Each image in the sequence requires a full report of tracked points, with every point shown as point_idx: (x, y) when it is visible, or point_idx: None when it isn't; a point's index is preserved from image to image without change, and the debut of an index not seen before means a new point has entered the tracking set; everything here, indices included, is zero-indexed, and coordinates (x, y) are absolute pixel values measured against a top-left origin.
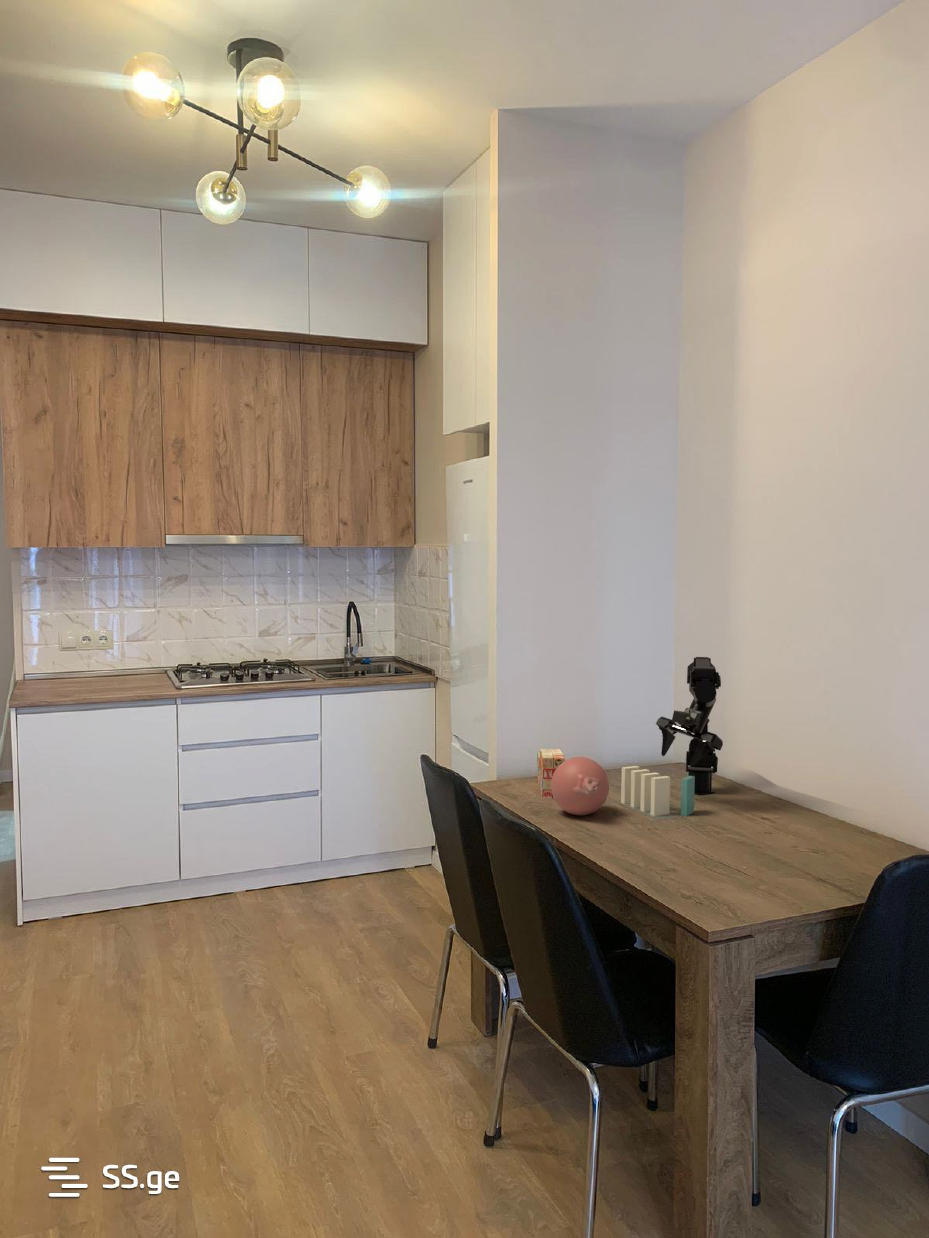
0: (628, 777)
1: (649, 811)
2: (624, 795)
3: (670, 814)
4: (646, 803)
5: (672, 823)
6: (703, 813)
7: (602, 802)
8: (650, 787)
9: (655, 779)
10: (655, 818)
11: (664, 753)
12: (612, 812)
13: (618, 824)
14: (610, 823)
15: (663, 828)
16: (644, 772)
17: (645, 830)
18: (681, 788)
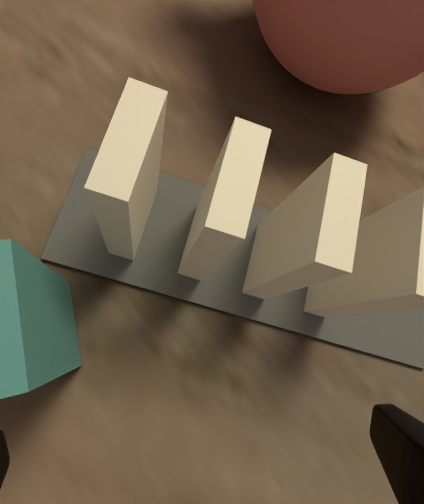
0: (382, 228)
1: (188, 227)
2: None
3: (102, 253)
4: (199, 203)
5: (29, 165)
6: (12, 405)
7: (254, 7)
8: (207, 193)
9: (127, 83)
10: None
11: (387, 448)
12: (270, 138)
13: (161, 37)
14: (185, 32)
15: (17, 89)
16: (316, 224)
17: (52, 33)
18: (31, 255)
